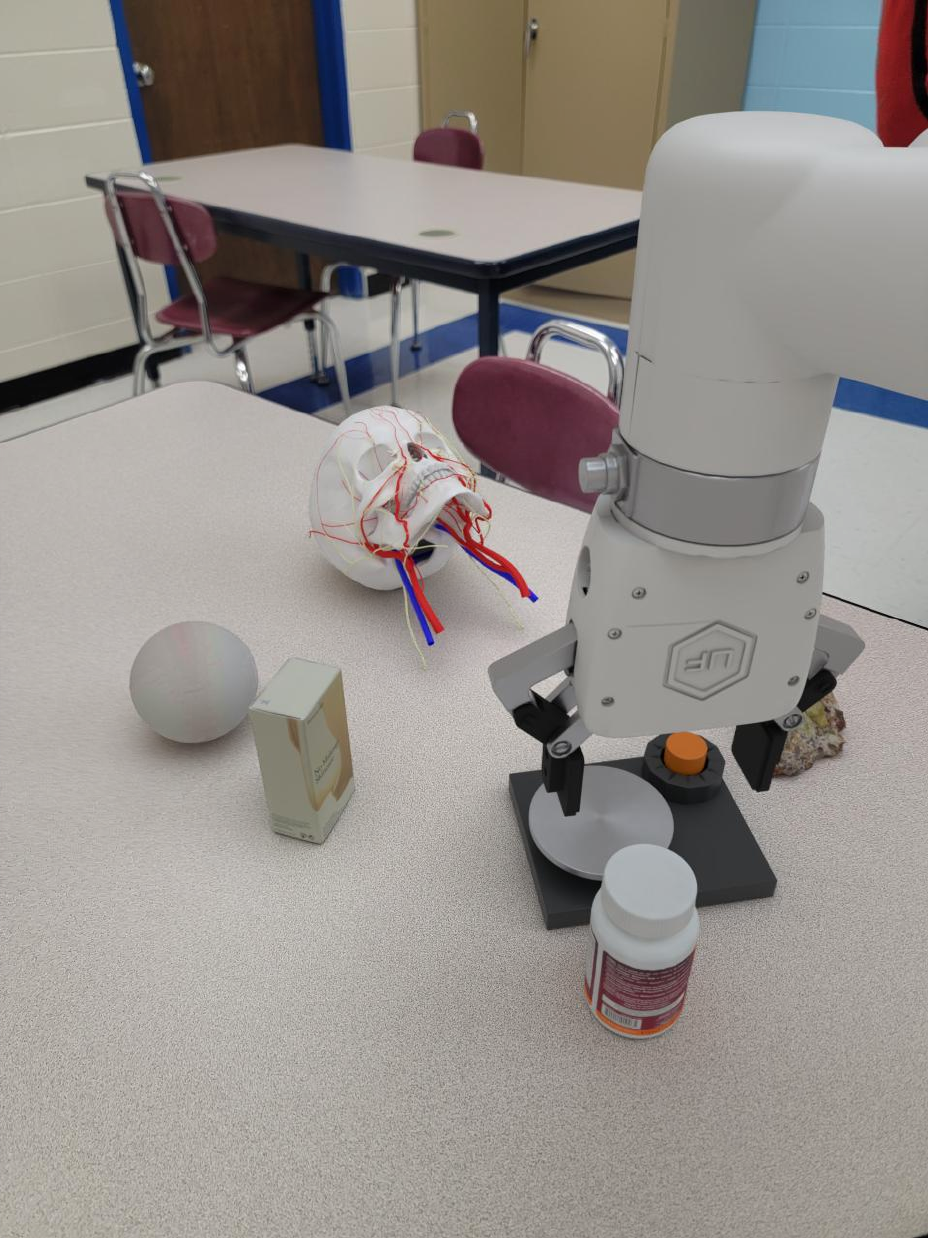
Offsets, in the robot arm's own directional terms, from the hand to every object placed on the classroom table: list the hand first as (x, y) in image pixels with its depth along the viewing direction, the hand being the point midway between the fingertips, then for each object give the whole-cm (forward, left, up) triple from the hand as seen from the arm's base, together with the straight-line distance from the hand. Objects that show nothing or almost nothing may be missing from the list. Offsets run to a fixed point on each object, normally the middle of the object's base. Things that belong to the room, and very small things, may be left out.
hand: (657, 783), depth 45 cm
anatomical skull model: (+8, -46, -19) cm, 50 cm away
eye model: (+28, -30, -19) cm, 45 cm away
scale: (-4, -12, -19) cm, 23 cm away
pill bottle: (0, 0, -19) cm, 19 cm away
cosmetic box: (+19, -19, -19) cm, 33 cm away
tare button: (-9, -16, -16) cm, 24 cm away
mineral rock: (-20, -20, -19) cm, 34 cm away
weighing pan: (-1, -11, -15) cm, 19 cm away
